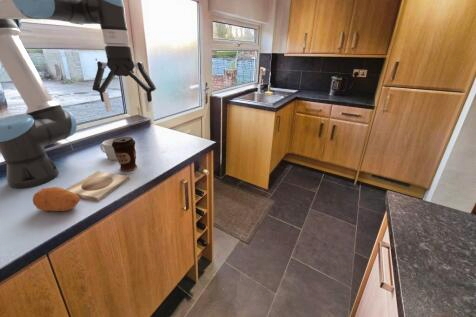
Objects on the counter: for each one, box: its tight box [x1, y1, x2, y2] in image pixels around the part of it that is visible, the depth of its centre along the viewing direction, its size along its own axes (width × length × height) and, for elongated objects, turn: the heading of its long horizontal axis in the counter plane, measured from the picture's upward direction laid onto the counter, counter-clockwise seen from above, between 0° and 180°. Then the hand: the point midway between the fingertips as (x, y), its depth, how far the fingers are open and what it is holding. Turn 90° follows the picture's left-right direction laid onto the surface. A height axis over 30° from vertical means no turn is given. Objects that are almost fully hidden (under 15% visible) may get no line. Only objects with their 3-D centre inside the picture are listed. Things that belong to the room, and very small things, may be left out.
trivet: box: [65, 170, 131, 202], centre depth 85 cm, size 15×15×1 cm
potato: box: [32, 186, 81, 212], centre depth 71 cm, size 7×13×7 cm, turn 80°
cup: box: [99, 138, 117, 161], centre depth 106 cm, size 11×8×8 cm
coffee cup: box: [112, 136, 138, 172], centre depth 95 cm, size 9×8×13 cm
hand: (129, 110), depth 84 cm, fingers open, 13 cm apart
